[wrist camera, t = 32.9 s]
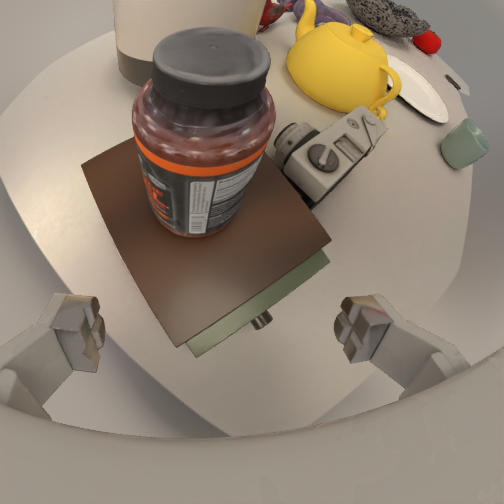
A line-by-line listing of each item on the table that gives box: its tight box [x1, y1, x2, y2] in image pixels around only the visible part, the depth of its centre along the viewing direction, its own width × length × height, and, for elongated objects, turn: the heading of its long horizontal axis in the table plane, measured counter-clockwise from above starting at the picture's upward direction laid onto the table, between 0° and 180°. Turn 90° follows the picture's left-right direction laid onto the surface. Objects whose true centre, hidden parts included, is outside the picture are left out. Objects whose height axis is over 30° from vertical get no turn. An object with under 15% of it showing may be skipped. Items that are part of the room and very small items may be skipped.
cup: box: [441, 118, 489, 169], centre depth 38 cm, size 8×8×10 cm
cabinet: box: [81, 137, 332, 348], centre depth 22 cm, size 15×13×10 cm
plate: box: [386, 53, 448, 123], centre depth 48 cm, size 25×25×2 cm
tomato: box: [412, 29, 441, 54], centre depth 63 cm, size 12×13×12 cm
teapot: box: [286, 0, 402, 121], centre depth 33 cm, size 25×18×14 cm
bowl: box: [346, 0, 430, 37], centre depth 54 cm, size 31×31×15 cm
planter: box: [113, 0, 267, 86], centre depth 25 cm, size 19×19×18 cm
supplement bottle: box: [132, 27, 276, 238], centre depth 12 cm, size 6×6×11 cm
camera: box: [274, 105, 388, 210], centre depth 27 cm, size 14×8×10 cm, turn 136°
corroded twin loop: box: [446, 74, 461, 89], centre depth 64 cm, size 5×8×1 cm, turn 53°
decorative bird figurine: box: [257, 0, 294, 32], centre depth 38 cm, size 3×18×10 cm, turn 146°
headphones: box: [277, 0, 351, 26], centre depth 48 cm, size 18×8×20 cm
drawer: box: [185, 249, 330, 358], centre depth 22 cm, size 15×11×8 cm
